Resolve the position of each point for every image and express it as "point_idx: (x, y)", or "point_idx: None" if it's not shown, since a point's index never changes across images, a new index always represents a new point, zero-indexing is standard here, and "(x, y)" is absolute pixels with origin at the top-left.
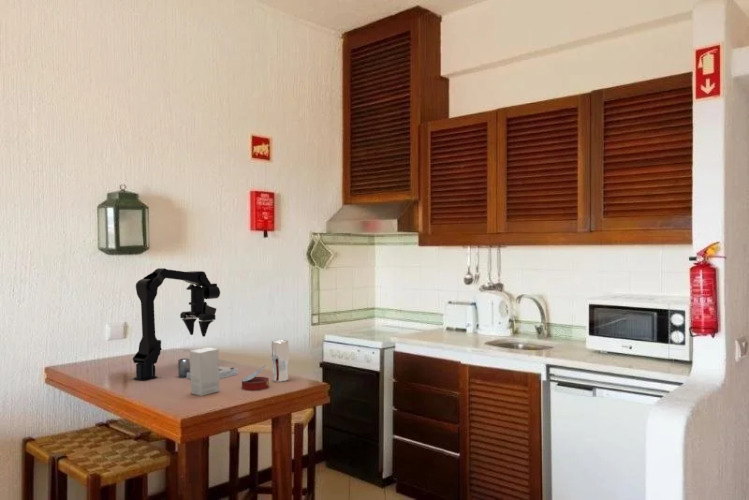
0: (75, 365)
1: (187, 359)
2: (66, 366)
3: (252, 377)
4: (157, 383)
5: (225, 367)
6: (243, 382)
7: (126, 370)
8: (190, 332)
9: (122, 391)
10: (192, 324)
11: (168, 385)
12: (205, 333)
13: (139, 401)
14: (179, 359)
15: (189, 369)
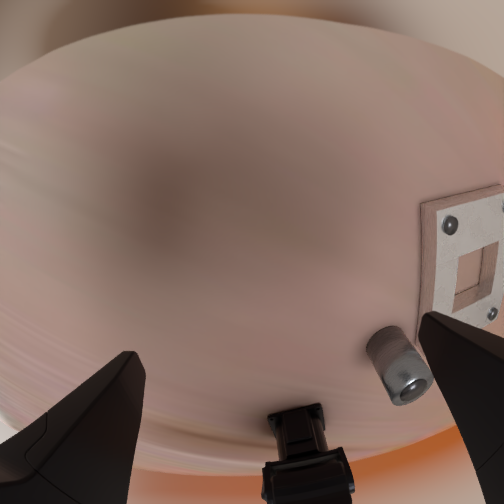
0: (13, 413)
1: (426, 379)
2: (19, 423)
3: None
4: (382, 408)
5: (483, 210)
6: None
7: None
8: (140, 403)
9: (373, 450)
10: (74, 476)
11: None
12: (461, 329)
13: (449, 427)
14: (396, 401)
15: (412, 345)
